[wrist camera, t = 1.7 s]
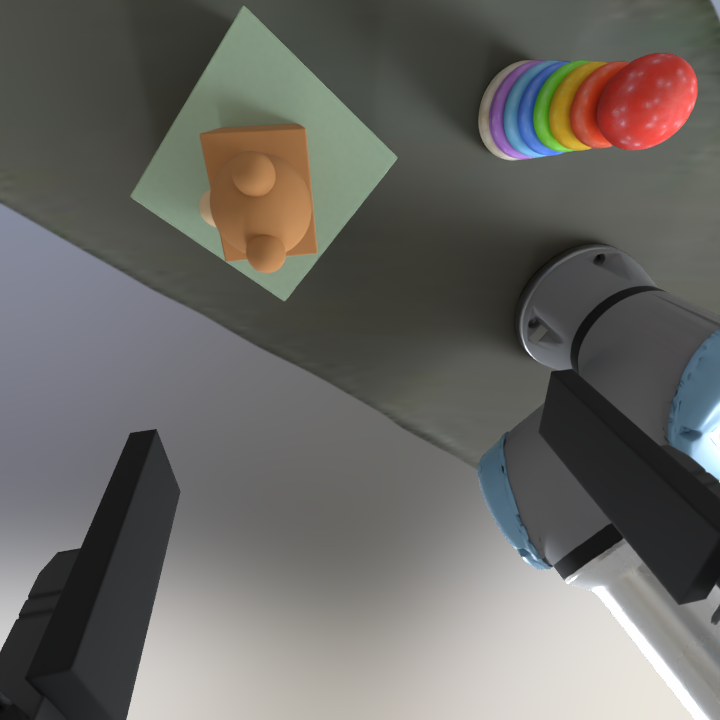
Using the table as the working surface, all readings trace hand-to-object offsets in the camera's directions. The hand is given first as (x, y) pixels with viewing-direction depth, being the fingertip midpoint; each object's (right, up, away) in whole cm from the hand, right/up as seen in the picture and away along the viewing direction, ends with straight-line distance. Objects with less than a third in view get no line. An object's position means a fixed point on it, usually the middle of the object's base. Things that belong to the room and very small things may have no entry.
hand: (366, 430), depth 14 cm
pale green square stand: (-8, +20, +25) cm, 33 cm away
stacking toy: (+14, +26, +26) cm, 39 cm away
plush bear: (-7, +15, +16) cm, 23 cm away
